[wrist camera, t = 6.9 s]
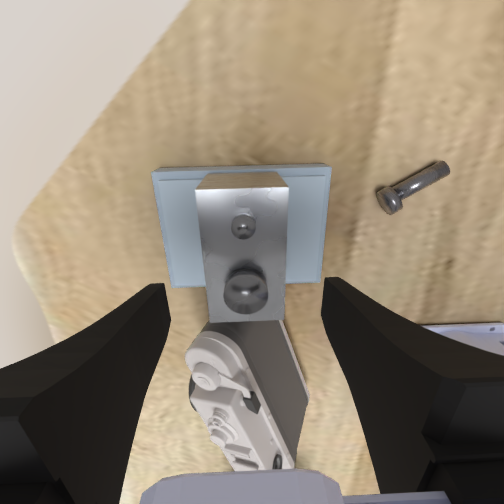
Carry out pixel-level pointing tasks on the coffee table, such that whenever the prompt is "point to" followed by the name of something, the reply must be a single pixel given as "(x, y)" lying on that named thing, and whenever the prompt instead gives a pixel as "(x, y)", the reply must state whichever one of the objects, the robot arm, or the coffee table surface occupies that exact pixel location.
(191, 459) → the coffee table surface
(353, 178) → the coffee table surface
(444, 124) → the coffee table surface
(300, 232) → the stand
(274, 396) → the camera
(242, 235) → the block
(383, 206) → the bolt
